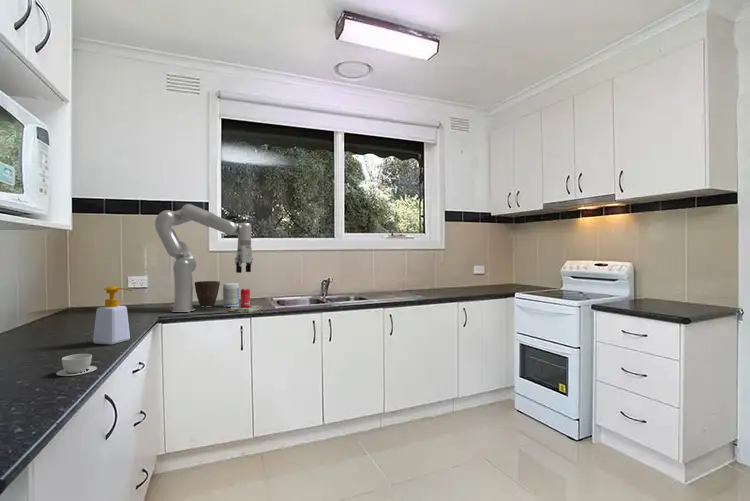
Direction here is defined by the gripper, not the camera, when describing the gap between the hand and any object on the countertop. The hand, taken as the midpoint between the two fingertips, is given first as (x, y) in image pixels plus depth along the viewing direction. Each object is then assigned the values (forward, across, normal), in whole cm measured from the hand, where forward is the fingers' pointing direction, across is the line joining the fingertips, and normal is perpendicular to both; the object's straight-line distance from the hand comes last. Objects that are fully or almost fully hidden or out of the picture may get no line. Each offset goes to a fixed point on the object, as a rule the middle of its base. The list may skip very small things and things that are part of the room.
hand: (243, 272), depth 245 cm
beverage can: (+22, 0, -2) cm, 22 cm away
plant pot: (+24, +6, +29) cm, 38 cm away
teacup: (+24, -120, -22) cm, 125 cm away
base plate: (+23, 0, -2) cm, 23 cm away
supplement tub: (+23, +12, +16) cm, 31 cm away
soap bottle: (+24, -87, -1) cm, 90 cm away
